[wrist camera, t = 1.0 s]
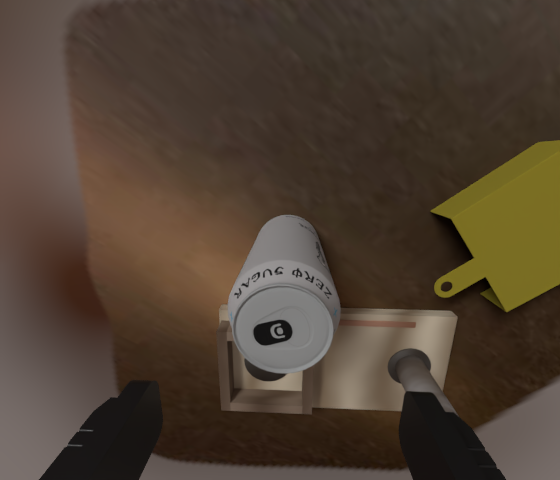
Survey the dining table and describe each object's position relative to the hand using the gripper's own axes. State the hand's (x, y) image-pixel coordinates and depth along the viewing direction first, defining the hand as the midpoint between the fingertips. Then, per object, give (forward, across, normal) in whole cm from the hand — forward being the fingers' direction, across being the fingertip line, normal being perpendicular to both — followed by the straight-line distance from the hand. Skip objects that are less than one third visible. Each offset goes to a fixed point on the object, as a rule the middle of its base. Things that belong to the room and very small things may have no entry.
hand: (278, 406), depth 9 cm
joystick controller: (+19, -5, +13) cm, 24 cm away
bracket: (+20, -19, -1) cm, 28 cm away
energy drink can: (+19, 0, 0) cm, 19 cm away
